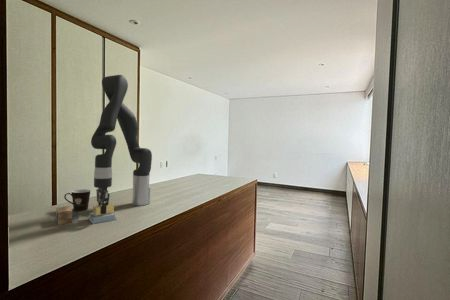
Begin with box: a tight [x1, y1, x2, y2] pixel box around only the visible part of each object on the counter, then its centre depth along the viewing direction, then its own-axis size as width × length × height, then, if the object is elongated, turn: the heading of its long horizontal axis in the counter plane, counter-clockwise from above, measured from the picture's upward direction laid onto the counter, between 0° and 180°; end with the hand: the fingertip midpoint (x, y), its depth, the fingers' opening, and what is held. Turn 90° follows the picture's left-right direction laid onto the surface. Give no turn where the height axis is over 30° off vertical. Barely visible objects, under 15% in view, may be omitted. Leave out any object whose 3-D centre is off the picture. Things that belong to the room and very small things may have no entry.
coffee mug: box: [63, 188, 91, 212], centre depth 127 cm, size 12×9×10 cm
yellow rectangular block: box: [92, 202, 115, 216], centre depth 114 cm, size 8×4×4 cm, turn 137°
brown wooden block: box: [55, 205, 73, 226], centre depth 109 cm, size 5×8×6 cm, turn 41°
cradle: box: [88, 212, 117, 225], centre depth 114 cm, size 10×8×3 cm
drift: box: [53, 211, 80, 225], centre depth 110 cm, size 9×3×3 cm, turn 149°
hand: (102, 212), depth 114 cm, fingers closed on yellow rectangular block, 4 cm apart
